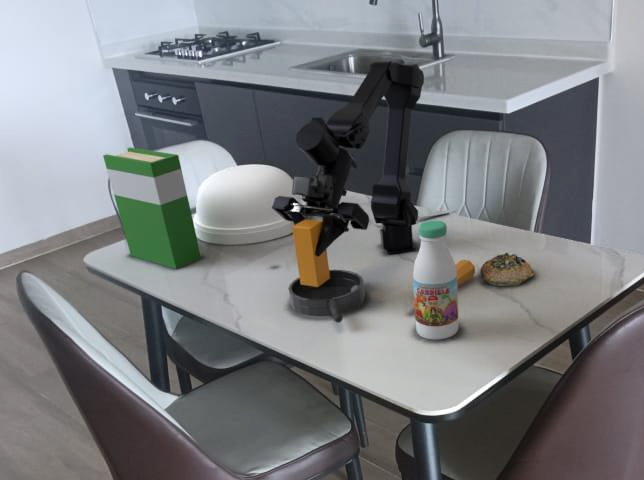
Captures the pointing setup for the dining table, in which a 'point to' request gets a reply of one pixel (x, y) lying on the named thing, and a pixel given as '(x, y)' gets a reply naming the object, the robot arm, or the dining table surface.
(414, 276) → the milk bottle
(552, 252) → the dining table surface
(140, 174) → the hardback book
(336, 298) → the pan
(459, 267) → the carrot
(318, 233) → the cheese
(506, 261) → the bread roll
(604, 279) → the dining table surface
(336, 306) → the pan handle
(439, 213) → the fork
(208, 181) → the dome cover
